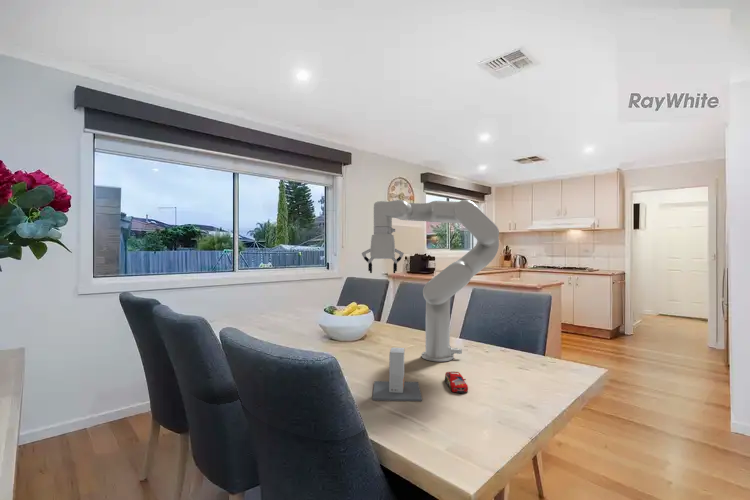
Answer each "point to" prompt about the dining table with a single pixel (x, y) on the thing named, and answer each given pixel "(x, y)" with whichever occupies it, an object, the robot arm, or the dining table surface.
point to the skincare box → (396, 370)
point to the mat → (409, 393)
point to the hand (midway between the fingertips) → (382, 272)
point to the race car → (456, 382)
